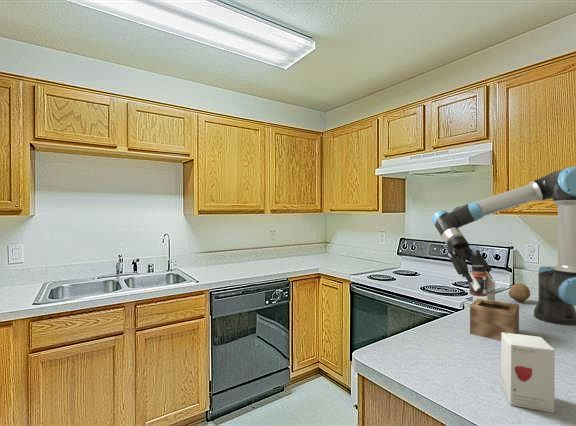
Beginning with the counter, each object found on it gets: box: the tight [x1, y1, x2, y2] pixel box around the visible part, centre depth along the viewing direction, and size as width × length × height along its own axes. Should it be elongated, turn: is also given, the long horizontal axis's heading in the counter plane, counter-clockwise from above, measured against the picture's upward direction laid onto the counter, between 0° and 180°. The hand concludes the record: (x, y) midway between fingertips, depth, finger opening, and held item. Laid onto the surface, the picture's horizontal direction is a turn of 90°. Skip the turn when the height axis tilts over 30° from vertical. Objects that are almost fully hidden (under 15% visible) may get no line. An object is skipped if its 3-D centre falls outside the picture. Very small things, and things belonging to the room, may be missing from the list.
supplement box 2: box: [500, 332, 556, 414], centre depth 80 cm, size 9×9×15 cm
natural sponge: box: [508, 282, 531, 303], centre depth 168 cm, size 9×9×10 cm
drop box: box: [469, 298, 520, 342], centre depth 125 cm, size 14×14×11 cm
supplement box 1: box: [472, 280, 496, 303], centre depth 163 cm, size 7×7×13 cm
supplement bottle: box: [468, 264, 488, 297], centre depth 124 cm, size 6×6×11 cm
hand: (485, 288), depth 120 cm, fingers closed on supplement bottle, 6 cm apart
